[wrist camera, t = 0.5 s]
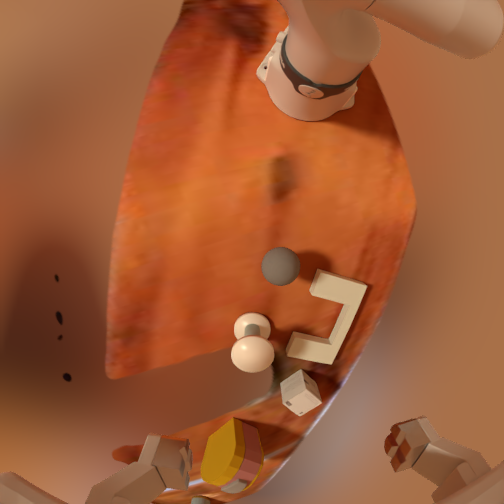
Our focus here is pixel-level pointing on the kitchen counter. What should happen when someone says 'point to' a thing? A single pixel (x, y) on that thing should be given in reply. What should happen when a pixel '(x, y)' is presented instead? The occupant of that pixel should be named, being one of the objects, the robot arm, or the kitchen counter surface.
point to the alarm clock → (233, 457)
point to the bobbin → (252, 343)
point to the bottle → (200, 500)
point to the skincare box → (300, 393)
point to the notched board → (327, 349)
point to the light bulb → (280, 266)
